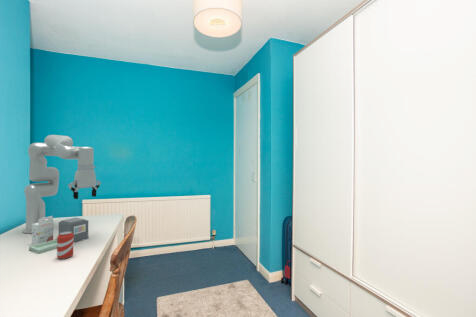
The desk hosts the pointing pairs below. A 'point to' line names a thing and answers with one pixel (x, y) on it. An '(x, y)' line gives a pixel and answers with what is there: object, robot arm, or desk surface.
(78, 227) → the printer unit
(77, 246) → the desk surface
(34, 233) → the ink cartridge box
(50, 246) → the tray
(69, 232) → the beverage can
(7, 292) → the desk surface
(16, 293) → the desk surface
